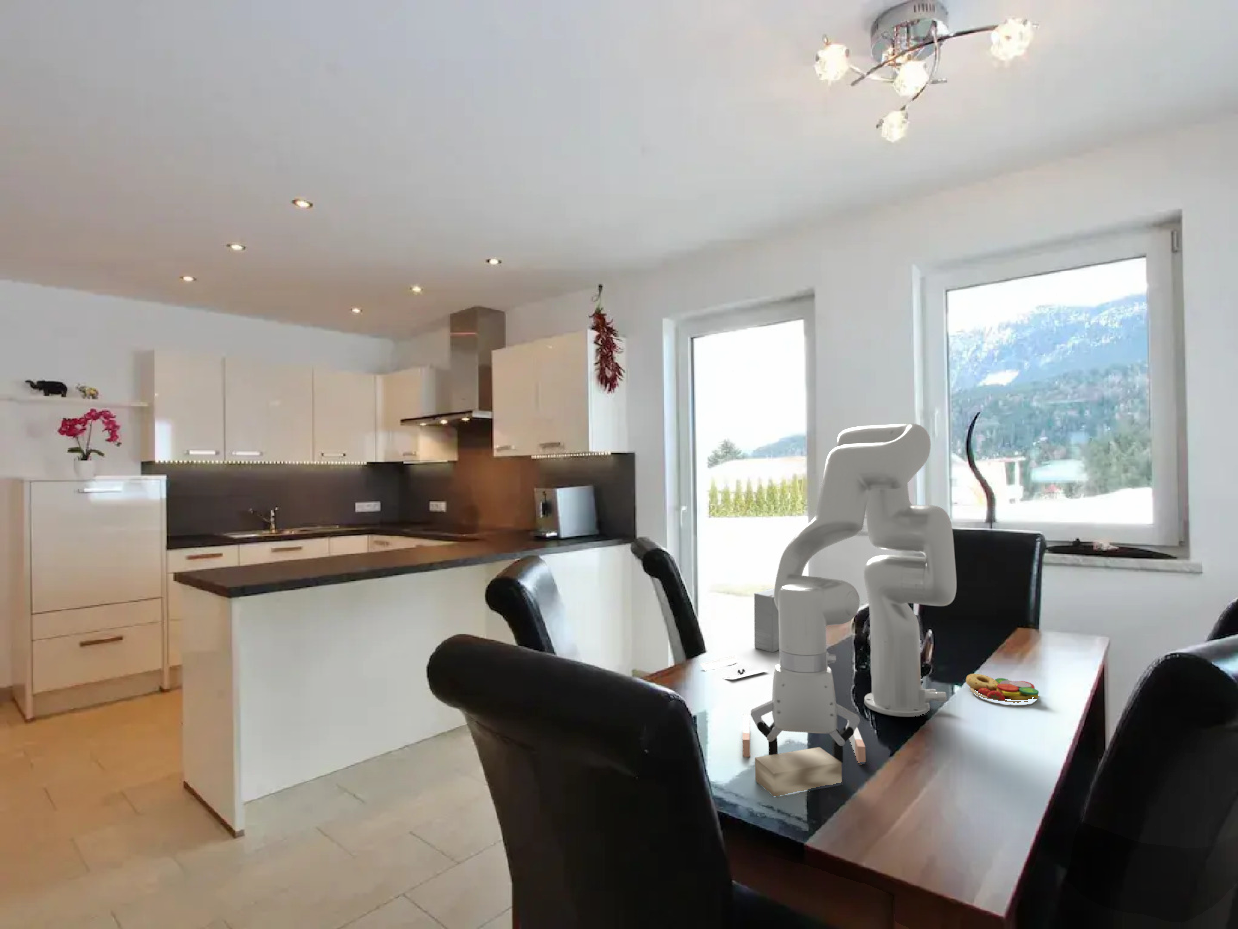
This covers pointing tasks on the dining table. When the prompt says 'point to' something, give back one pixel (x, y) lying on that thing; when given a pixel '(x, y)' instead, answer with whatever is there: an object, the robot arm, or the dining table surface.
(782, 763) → the birch block
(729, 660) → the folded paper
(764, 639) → the skincare box
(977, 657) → the dining table surface
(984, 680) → the toy food set
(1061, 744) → the dining table surface
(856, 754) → the walled lane
